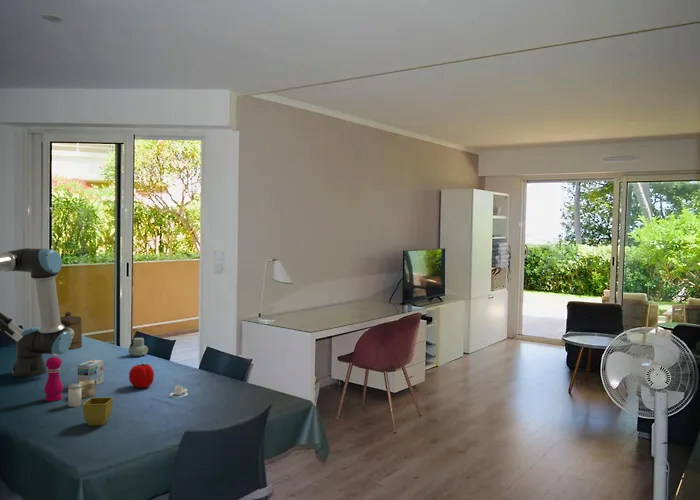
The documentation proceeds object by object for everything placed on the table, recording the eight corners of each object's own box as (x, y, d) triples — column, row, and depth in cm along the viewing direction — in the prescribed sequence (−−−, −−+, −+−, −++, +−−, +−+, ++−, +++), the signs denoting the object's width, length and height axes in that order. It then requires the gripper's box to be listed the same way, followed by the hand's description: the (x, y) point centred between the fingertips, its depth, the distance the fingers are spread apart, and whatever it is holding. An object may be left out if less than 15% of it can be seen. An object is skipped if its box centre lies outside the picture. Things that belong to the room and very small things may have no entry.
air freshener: (136, 353, 333) (136, 336, 333) (149, 353, 332) (149, 337, 332) (126, 357, 323) (126, 340, 322) (140, 357, 321) (140, 340, 321)
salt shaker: (72, 402, 239) (72, 383, 239) (84, 403, 239) (84, 383, 239) (65, 406, 234) (65, 386, 233) (77, 407, 234) (77, 387, 233)
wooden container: (49, 349, 339) (49, 313, 338) (65, 344, 353) (65, 309, 352) (71, 350, 336) (71, 314, 335) (86, 345, 351) (86, 310, 350)
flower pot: (90, 419, 219) (90, 397, 219) (113, 419, 220) (113, 397, 219) (81, 428, 210) (81, 404, 210) (105, 427, 211) (105, 404, 210)
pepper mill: (66, 397, 246) (66, 352, 245) (53, 402, 239) (53, 356, 238) (54, 395, 248) (54, 351, 247) (40, 400, 241) (40, 354, 241)
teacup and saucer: (184, 391, 260) (184, 382, 260) (192, 395, 254) (192, 386, 254) (166, 395, 254) (166, 386, 254) (174, 399, 248) (174, 390, 248)
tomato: (145, 391, 258) (146, 367, 257) (123, 389, 260) (123, 365, 260) (159, 384, 270) (159, 361, 269) (138, 382, 272) (138, 359, 271)
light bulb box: (89, 388, 261) (89, 365, 260) (77, 387, 262) (77, 364, 261) (104, 382, 271) (104, 360, 271) (91, 381, 272) (91, 359, 272)
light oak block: (79, 398, 246) (79, 384, 246) (78, 394, 251) (78, 381, 251) (94, 396, 249) (94, 383, 248) (93, 392, 254) (93, 379, 254)
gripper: (-27, 305, 239) (14, 337, 246) (-34, 313, 217) (11, 348, 225) (-12, 292, 241) (28, 325, 249) (-17, 299, 219) (27, 334, 227)
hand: (20, 336), depth 237 cm, fingers open, 13 cm apart
